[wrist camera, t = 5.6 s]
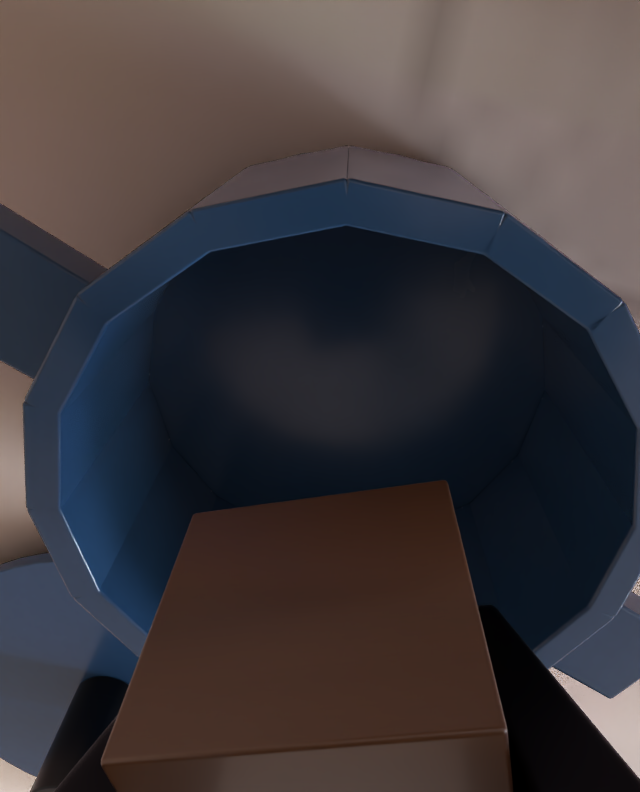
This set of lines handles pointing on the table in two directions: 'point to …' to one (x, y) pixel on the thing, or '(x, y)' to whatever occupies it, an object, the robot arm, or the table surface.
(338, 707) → the block
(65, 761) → the lid
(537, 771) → the robot arm
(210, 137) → the table surface
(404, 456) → the pot
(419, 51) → the table surface
